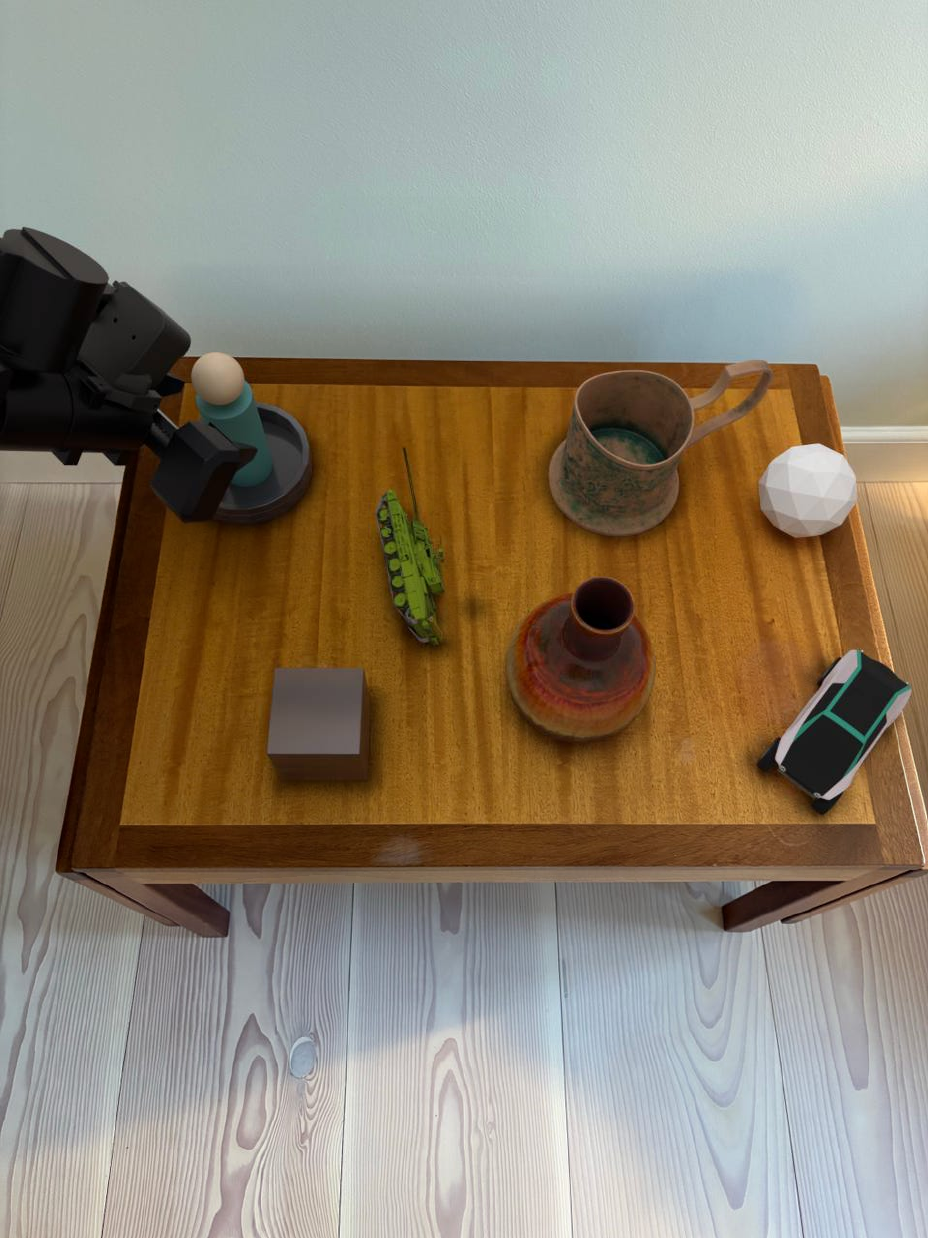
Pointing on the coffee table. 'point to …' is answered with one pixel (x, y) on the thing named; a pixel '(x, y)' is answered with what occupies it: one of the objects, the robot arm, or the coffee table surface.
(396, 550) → the toy tank
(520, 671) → the vase
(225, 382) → the wooden doll
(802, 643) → the coffee table surface
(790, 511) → the geometric ball
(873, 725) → the toy car
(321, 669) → the walnut block
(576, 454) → the mug
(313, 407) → the coffee table surface
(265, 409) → the round grey tray
